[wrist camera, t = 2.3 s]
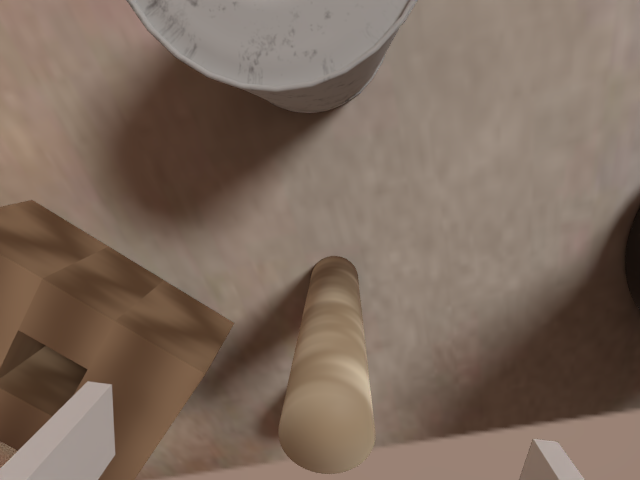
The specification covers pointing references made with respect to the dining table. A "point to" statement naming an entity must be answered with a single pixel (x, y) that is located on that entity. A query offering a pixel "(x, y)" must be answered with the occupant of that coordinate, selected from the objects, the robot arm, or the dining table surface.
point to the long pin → (329, 377)
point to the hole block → (94, 335)
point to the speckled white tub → (280, 44)
